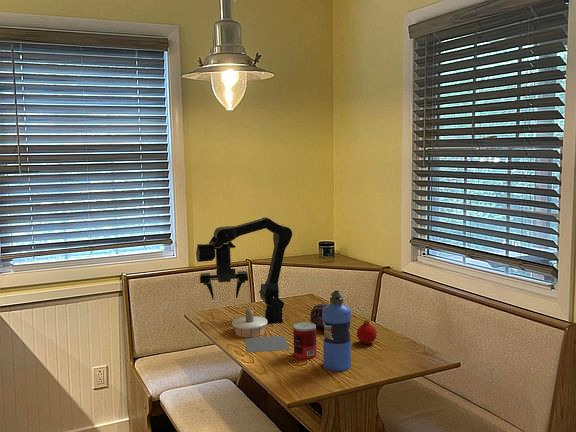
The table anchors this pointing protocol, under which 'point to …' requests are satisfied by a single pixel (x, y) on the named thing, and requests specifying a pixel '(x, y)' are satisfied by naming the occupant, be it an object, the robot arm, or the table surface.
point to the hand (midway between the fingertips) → (224, 298)
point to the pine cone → (317, 315)
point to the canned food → (304, 340)
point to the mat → (266, 344)
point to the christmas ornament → (366, 332)
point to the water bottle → (336, 334)
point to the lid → (249, 321)
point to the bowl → (249, 332)
